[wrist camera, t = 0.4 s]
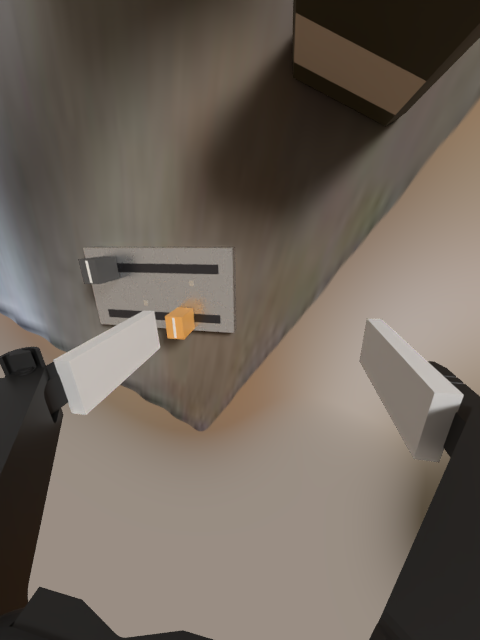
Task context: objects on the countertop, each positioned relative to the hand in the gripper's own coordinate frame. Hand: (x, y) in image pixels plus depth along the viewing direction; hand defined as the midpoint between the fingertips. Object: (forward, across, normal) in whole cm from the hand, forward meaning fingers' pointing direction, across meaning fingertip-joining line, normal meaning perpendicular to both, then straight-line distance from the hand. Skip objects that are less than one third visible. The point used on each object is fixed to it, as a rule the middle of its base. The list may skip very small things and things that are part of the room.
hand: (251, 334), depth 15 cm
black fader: (+25, -30, +1) cm, 39 cm away
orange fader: (+25, -16, -9) cm, 31 cm away
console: (+27, -21, -4) cm, 35 cm away
